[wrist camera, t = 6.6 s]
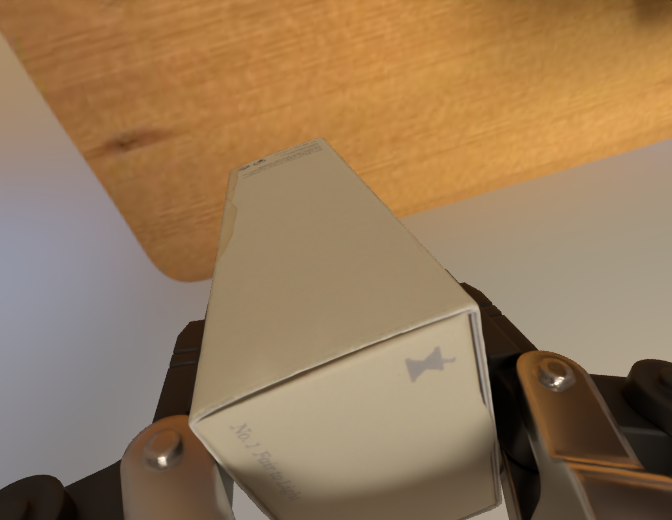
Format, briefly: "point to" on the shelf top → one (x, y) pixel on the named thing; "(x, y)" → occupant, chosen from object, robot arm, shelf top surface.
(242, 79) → the shelf top surface
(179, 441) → the robot arm
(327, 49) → the shelf top surface
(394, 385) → the cosmetic box
